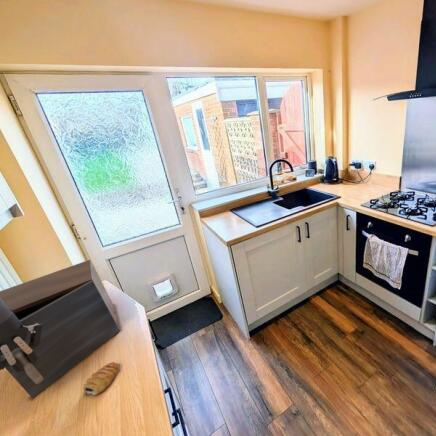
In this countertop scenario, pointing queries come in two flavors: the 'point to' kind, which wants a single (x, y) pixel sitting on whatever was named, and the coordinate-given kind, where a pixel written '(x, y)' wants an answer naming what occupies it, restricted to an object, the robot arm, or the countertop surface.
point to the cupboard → (53, 289)
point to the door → (64, 337)
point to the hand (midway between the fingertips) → (27, 366)
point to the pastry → (101, 379)
